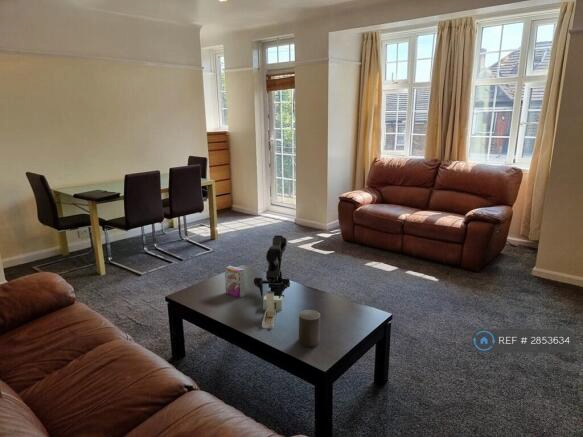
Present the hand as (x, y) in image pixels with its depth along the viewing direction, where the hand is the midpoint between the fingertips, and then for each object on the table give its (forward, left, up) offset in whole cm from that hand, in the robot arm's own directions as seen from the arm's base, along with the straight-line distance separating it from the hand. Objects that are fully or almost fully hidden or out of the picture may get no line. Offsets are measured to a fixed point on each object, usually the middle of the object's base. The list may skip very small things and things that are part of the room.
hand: (270, 297), depth 210 cm
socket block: (-7, -6, -10) cm, 14 cm away
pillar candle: (+4, +31, -10) cm, 33 cm away
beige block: (-3, -2, -9) cm, 10 cm away
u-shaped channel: (+4, +4, -10) cm, 12 cm away
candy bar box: (-3, -34, -10) cm, 36 cm away
